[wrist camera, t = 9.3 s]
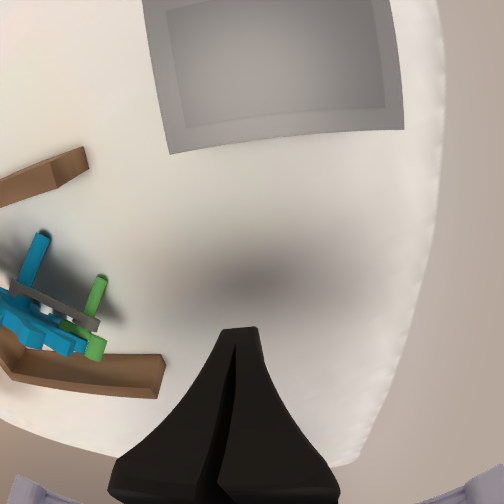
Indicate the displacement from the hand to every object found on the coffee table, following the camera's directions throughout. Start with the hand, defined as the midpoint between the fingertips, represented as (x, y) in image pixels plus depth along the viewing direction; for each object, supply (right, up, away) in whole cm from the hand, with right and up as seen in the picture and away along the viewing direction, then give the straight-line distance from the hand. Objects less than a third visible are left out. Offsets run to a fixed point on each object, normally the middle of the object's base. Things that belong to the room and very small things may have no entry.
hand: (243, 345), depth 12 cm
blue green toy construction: (-13, +2, +6) cm, 14 cm away
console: (+1, +12, 0) cm, 12 cm away
